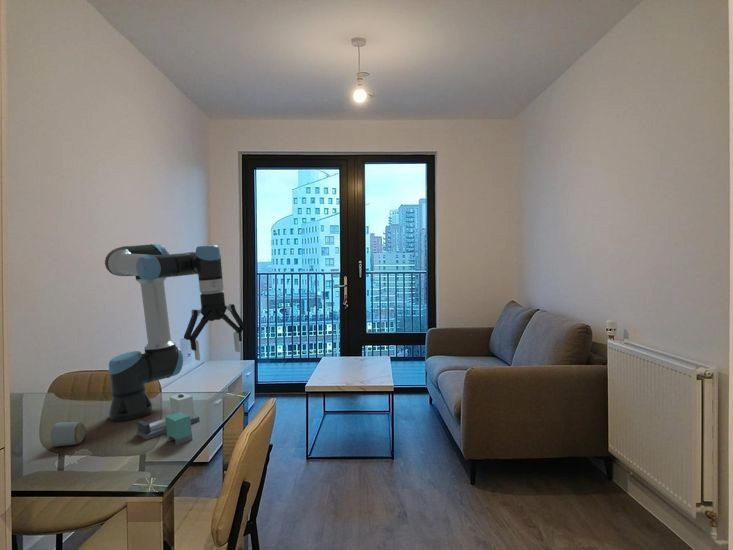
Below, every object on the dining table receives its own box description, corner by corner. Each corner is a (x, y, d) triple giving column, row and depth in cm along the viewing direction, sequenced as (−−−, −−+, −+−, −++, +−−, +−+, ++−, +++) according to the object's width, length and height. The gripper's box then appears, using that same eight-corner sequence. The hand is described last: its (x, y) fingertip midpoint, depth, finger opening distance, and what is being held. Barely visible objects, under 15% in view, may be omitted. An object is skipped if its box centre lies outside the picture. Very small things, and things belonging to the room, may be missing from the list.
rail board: (146, 439, 163) (143, 410, 162) (136, 434, 168) (133, 405, 167) (199, 420, 177) (196, 393, 176) (188, 416, 182) (185, 390, 181)
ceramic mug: (77, 447, 160) (75, 424, 160) (51, 450, 159) (48, 427, 159) (91, 435, 171) (89, 413, 170) (66, 438, 170) (64, 416, 169)
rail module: (177, 445, 157) (175, 420, 156) (167, 440, 161) (165, 416, 161) (192, 439, 160) (190, 415, 160) (182, 434, 165) (179, 411, 164)
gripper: (176, 298, 151) (183, 365, 153) (252, 288, 166) (257, 349, 167) (169, 296, 157) (176, 361, 159) (243, 287, 172) (248, 346, 173)
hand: (218, 355), depth 163 cm, fingers open, 13 cm apart
